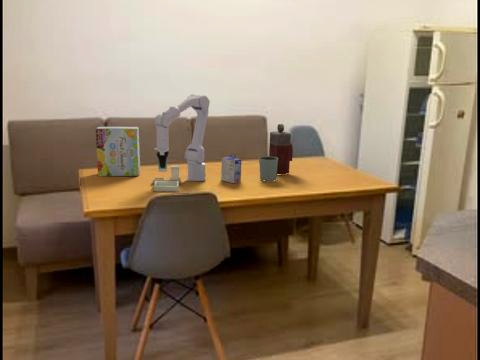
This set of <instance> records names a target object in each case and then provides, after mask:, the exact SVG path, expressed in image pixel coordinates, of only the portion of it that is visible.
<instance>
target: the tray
mask: <svg viewBox="0 0 480 360" xmlns="http://www.w3.org/2000/svg"><path fill="white" fill-rule="evenodd" d="M179 187H180V185H179V181H155V184H154V185H153V192H179Z"/></svg>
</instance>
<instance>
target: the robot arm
mask: <svg viewBox="0 0 480 360" xmlns="http://www.w3.org/2000/svg"><path fill="white" fill-rule="evenodd" d="M209 106H210V99H209V97H208V96H207V95H204V94H203V95H201V94H195V93H192V94H190V95H188V96H187V97H186V99H184V100H183V101H182V102H181V103H180V104H179V105H177V106H169V109H167V110H165V111H163V112H162V114H160V113H159V114H157V115H156V116H155V117H154V120H153V123H154V126H155V129H156V147H155V148H154V151H157V152H156V157H157V159H159V163H160V168H165V165H166V159H167V160H168V156H169V154H170V153H169V152H170V151H169V150H170V147H169V146H170V145H169V144H170V142H169V138H170V137H169V133H170V132H169V127H170V126H171V125H172V122H174V121H175V120H177V118H179V117H180V116H181V113H182V112H184V111H186V110H187V109H189V108H192V109H193V110H194V111H195V112H196V115H197V116H196V119H195V125H194V129H193V135H192V139H191V143H190V144H189V145H188V146H187V148H186V151H184V160H185V161H186V163H187V176H186V181H188V182H193V181H194V182H206V176H207V175H206V163H205V162H204V161H205V158H206V155H205V151H206V149H205V148H204V146H203V142H204V136H205V131H206V126H207V122H208V116H209Z"/></svg>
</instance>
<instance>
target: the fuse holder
mask: <svg viewBox="0 0 480 360" xmlns="http://www.w3.org/2000/svg"><path fill="white" fill-rule="evenodd" d="M155 181H179V186H181V185H182V177H180V176H179V179H171V176H170V177H169V179H166V177H164V176H163V177H162V176H161V177H159V176H158V177H156V176H155V177H153V178H152V186H154V184H155Z"/></svg>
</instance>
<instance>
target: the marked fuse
mask: <svg viewBox="0 0 480 360" xmlns="http://www.w3.org/2000/svg"><path fill="white" fill-rule="evenodd" d="M157 159H158V158H157ZM167 172H168V158H167V159H166V165H165V168H160V163H159V159H158V173H167Z"/></svg>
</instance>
